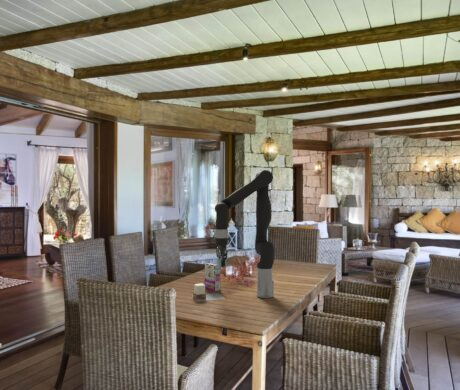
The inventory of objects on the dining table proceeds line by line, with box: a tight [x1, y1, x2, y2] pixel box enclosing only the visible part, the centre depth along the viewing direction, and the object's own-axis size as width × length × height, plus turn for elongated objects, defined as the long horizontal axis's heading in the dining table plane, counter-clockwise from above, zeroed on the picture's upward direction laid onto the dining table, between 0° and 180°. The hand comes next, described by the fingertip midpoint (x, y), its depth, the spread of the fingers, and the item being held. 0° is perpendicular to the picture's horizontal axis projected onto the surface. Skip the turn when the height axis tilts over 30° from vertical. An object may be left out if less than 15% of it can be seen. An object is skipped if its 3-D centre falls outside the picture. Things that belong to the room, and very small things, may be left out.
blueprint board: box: [191, 292, 226, 302], centre depth 234 cm, size 18×13×1 cm
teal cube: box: [216, 257, 228, 268], centre depth 233 cm, size 4×4×4 cm
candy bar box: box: [203, 262, 222, 292], centre depth 254 cm, size 11×5×16 cm, turn 40°
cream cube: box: [193, 282, 206, 295], centre depth 232 cm, size 5×5×5 cm
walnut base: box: [192, 292, 207, 300], centre depth 232 cm, size 6×6×3 cm
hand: (221, 265), depth 233 cm, fingers closed on teal cube, 4 cm apart
